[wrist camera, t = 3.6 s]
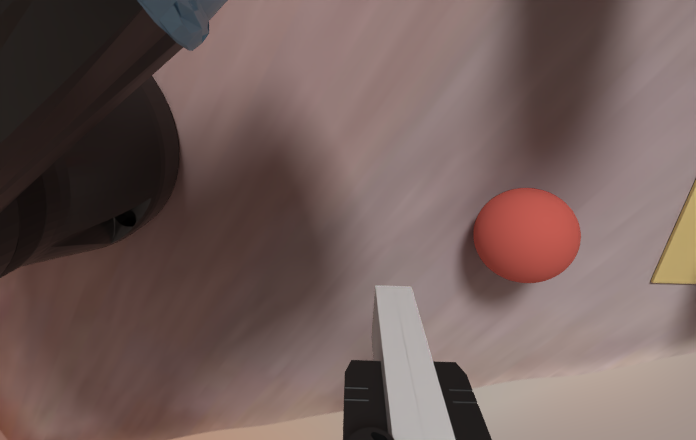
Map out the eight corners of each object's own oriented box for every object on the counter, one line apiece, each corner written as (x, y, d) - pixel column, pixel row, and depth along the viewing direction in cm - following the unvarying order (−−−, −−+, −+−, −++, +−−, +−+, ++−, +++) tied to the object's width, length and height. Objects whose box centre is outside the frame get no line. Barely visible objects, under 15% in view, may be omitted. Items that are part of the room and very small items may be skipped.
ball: (455, 252, 26) (485, 301, 20) (469, 175, 23) (506, 206, 18) (535, 255, 26) (586, 304, 20) (556, 177, 23) (621, 209, 18)
